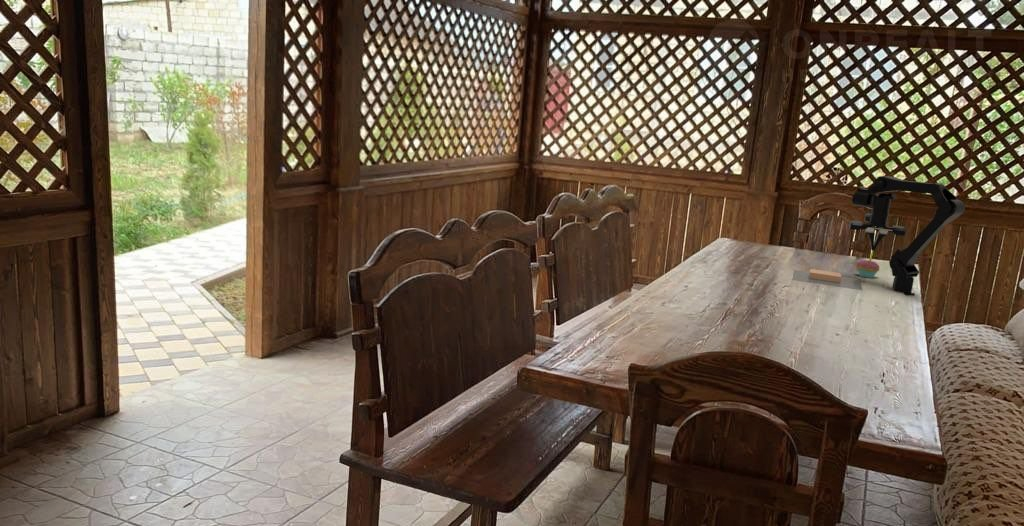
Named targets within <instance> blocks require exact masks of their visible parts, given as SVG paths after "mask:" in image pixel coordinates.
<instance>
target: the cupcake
mask: <svg viewBox="0 0 1024 526" xmlns="http://www.w3.org/2000/svg"><path fill="white" fill-rule="evenodd" d="M874 251H875V250H874ZM874 251H872V250H871V252H870V256H869V259H868V260H867V259H863V260H859V261H858V262H856V264H855V267H856V269H857V271H858V276H859V277H863V278H868V279H869V278H870V279H872V278H874V277H875V275H876V274H877V273H878V272H879V271H880V265H879V264H878V263H877V262H876V261H872V259H873V255H874Z"/></svg>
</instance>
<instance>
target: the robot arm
mask: <svg viewBox="0 0 1024 526" xmlns="http://www.w3.org/2000/svg"><path fill="white" fill-rule="evenodd" d="M898 191H900V192H902V191H903V192H913V193H919V194H920V193H922V194H930V195H931V196H932V199H933V201H934V204H936V206H937V209H936V210H935V211H934V215H933V218H932V219H931V220H930V222H929V223H928V224H926V226H925V227H924V228H923V229H922V230H921V231H920V233H918V235H917V236H916V237H915V238H914V239H913V240H912V242H910V243H909V245H907V247H905V248H904V247H903V248H897V249H896V250H895V252H894V254H892V255H891V256H890V260H889V267H890V269H891V275H892V276H893V277H894V278H893V282H892V288H891V289H893V291H894V292H895V291H896V292H899V293H902V294H903V295H907V296H908V295H910V296H911V295H912V296H914V295H916V293H914V292H912V291H913V286H914V282H915V278H916V277H918V276H919V274H920V271H919V269H918V268H917V266H916V265H915V264H916V262H917V261H918V258H919V255H920V254H921V253H922V251H923V250H924V249H926V247H927V246H928V245H929V244H930V243H931V241H933V239H934V238H935V237H936V236H937V235H938V234H939V233H940V232H941V231H942V230H943V229H944V228H945V226H947V225H948V224H949V223H951V222H953V221H954V220H956V219H958V218H959V217H960V216H961V215H963V214H964V212H965V211H966V206H965V203H964V202H963V200H960V199H958V198H957V196H956V195H954V193H952V192H951V191H950V190H949V189H948V188H947V187H946V185H944V184H943V183H941V182H923V181H922V182H921V181H914V180H913V181H912V180H905V179H903V178H900V177H896V176H892V175H890V176H889V175H882V176H881V175H880V176H877V178H876V179H875V180H874V183H873V184H872V185H870V187H869V188H867V189H866V188H864V187H863V188H862V187H857V189H856V190H855V192H854V193H853V196H852V198H851V201H852V204H853V206H858V207H862V208H863V207H865V208H871V207H872V209H871V213H869V212H868V213H867V212H866V213H864V214H865V215H864V223H863V222H862V221H860V220H859V221H858V220H851V221H850V222H849V227H848V228H849V230H853V231H860V230H863V229H864V230H865V231H864V232H865V234H866V235H868V237H869V240H870V247H871V252H872V251H875V250H876V249H877V246H878V245H879V243H880V242H881V241H882V240H883V238H884V237H887V236H888V233H893V234H895V235H896V236H902V237H903V236H904V237H905V235H906V231H907V230H906V228H905V227H904V226H901V225H892V227H891V226H887V225H888V224H887V223H888V220H889V219H888V218H889V212H890V207H891V201H892V200H897V199H898V196H897V195H896V194H895V193H894V192H898ZM887 192H889V193H887ZM875 231H877V234H875ZM875 235H876V238H875Z"/></svg>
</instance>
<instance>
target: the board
mask: <svg viewBox="0 0 1024 526" xmlns="http://www.w3.org/2000/svg"><path fill="white" fill-rule="evenodd" d="M809 273H810V271H804V270H797V269H793V274H792V281H796V282H797V281H798V282H803V283H812V284H818V285H823V286H824V285H825V286H830V287H831V286H832V287H838V288H845V289H851V290H858V291H863V288H862V286H863V285H862V284H861V279H860V278H853V277H847V276H841V282H840V283H835V282H828V281H822V280H815V279H809Z"/></svg>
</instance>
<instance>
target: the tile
mask: <svg viewBox="0 0 1024 526" xmlns="http://www.w3.org/2000/svg"><path fill="white" fill-rule="evenodd" d="M809 272H810V273H809V279H815V280H822V281H828V282H835V283H840V282H841V277H842V273H841V272H834V271H828V270H827V271H826V270H822V269H821V270H820V269H814V268H810V269H809Z"/></svg>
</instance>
